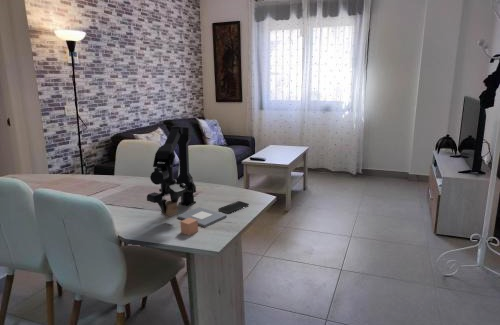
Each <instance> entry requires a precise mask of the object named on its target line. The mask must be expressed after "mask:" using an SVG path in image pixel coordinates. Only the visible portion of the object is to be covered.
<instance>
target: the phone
mask: <svg viewBox="0 0 500 325" xmlns="http://www.w3.org/2000/svg"><path fill="white" fill-rule="evenodd" d="M248 205H249V206H250V204H249V203H247V202H244V201H241V200H237V201H235V202H233V203H229V204H227V205H223V206H222V207H219V208H218V210H219V211H218V212H220V213H223V214H226V213H227V214H228V215H230V214H233V213H234V211H235V212H237V211H236V210H238V211H240V210H242V209H241V208H243V207H245V208H247V207H246V206H248ZM249 206H248V207H249ZM239 209H240V210H239ZM243 209H244V208H243ZM232 212H233V213H232ZM229 213H230V214H229ZM227 214H226V215H227Z"/></svg>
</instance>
